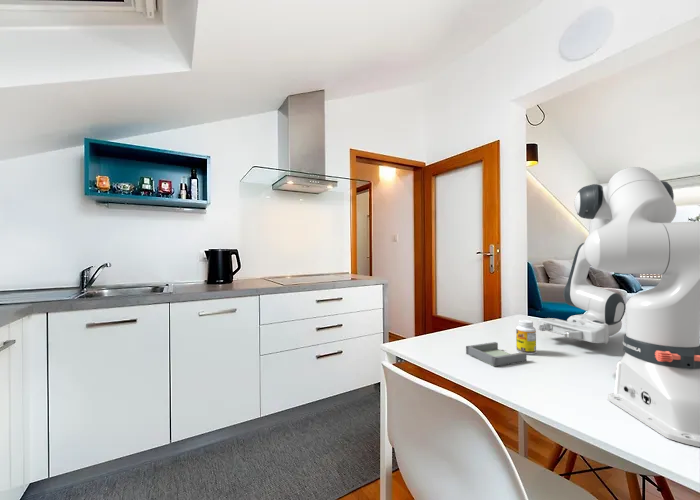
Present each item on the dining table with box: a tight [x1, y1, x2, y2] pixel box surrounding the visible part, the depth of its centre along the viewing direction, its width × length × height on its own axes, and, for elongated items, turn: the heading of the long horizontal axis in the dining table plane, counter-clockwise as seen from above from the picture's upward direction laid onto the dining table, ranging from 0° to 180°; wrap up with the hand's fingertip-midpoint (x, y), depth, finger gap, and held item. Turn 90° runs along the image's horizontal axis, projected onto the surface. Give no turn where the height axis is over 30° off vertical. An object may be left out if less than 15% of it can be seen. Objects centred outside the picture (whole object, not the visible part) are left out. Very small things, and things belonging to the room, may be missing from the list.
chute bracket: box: [465, 341, 527, 368], centre depth 96 cm, size 12×12×2 cm
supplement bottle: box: [515, 319, 537, 356], centre depth 100 cm, size 6×6×10 cm
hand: (552, 331), depth 104 cm, fingers open, 8 cm apart
